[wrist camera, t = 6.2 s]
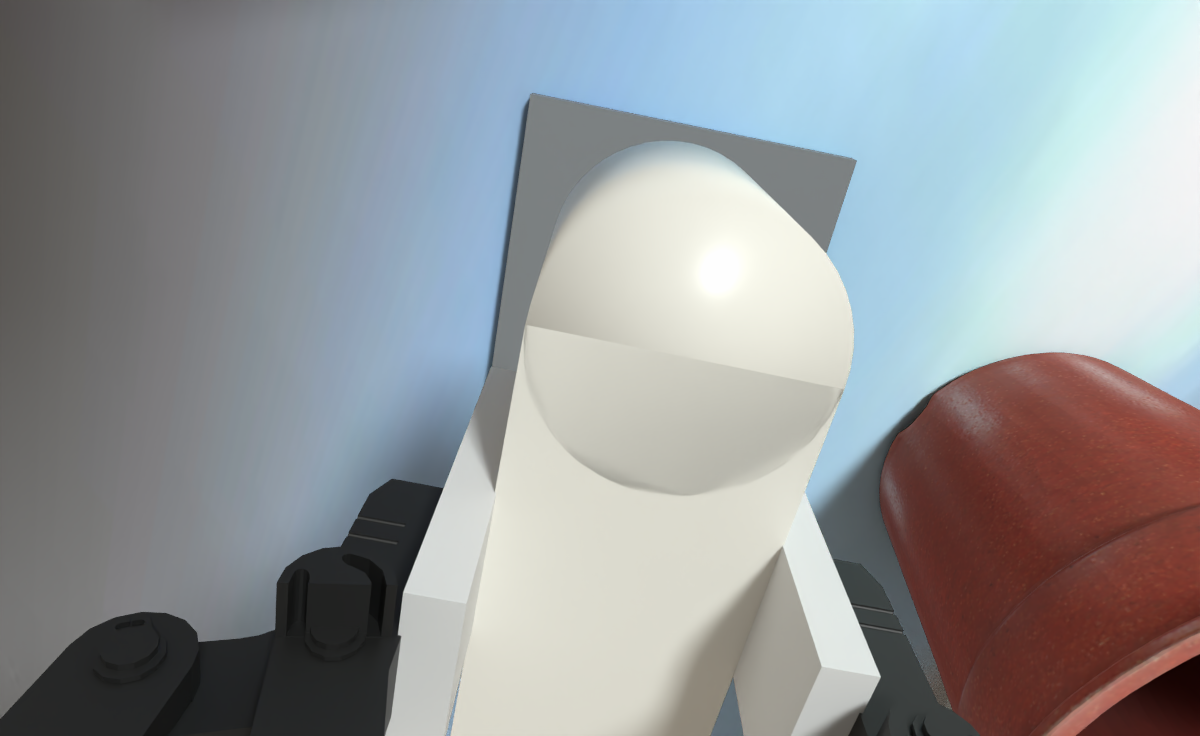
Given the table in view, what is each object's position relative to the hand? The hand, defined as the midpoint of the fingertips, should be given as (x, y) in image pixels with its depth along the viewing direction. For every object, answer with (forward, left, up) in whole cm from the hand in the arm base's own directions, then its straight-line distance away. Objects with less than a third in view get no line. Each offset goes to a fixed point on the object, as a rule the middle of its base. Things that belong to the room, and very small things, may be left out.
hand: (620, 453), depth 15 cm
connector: (0, 0, -1) cm, 1 cm away
